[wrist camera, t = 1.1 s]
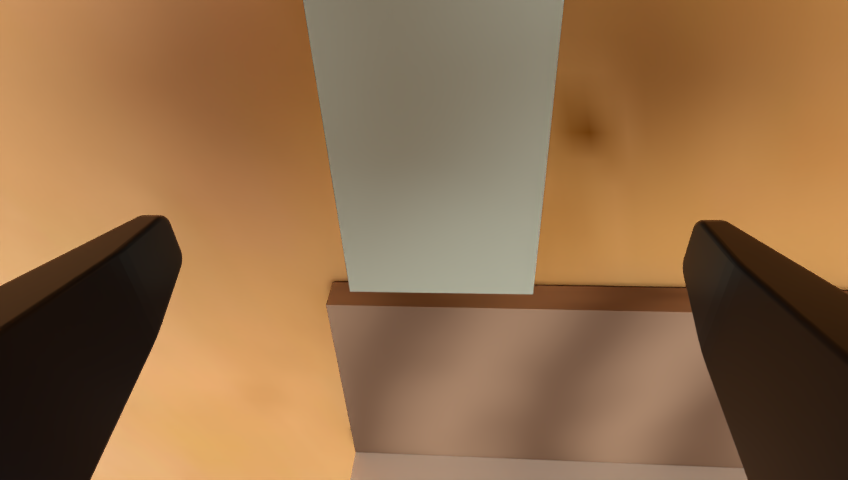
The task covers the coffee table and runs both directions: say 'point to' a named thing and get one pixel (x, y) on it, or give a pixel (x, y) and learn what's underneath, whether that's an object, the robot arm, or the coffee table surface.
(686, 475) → the rail
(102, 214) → the coffee table surface
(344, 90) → the tea tin
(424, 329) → the shelf board
